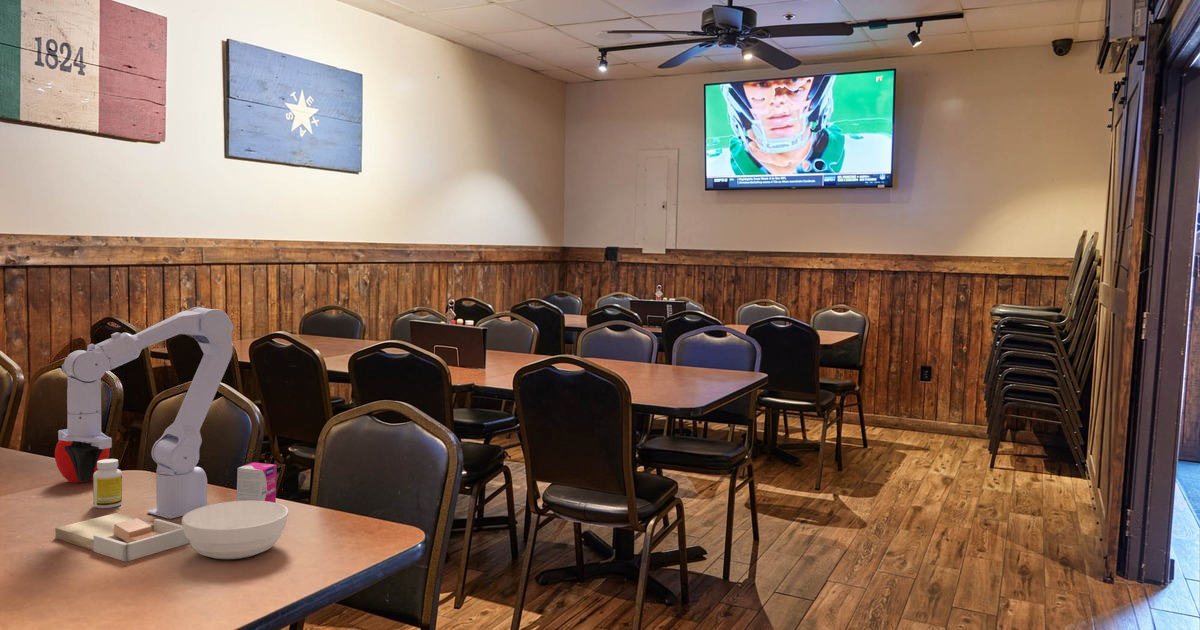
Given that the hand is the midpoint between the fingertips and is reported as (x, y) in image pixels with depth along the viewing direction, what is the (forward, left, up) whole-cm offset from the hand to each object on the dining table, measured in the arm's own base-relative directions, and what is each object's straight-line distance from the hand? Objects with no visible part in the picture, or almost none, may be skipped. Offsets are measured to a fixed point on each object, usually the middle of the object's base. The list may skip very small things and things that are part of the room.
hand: (84, 480), depth 171 cm
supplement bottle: (-12, -12, -10) cm, 20 cm away
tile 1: (0, +15, -8) cm, 17 cm away
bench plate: (0, +7, -10) cm, 12 cm away
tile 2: (0, +20, -10) cm, 22 cm away
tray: (0, +18, -10) cm, 21 cm away
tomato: (-20, -36, -10) cm, 42 cm away
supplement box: (-23, +22, -10) cm, 33 cm away
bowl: (-8, +35, -10) cm, 37 cm away
